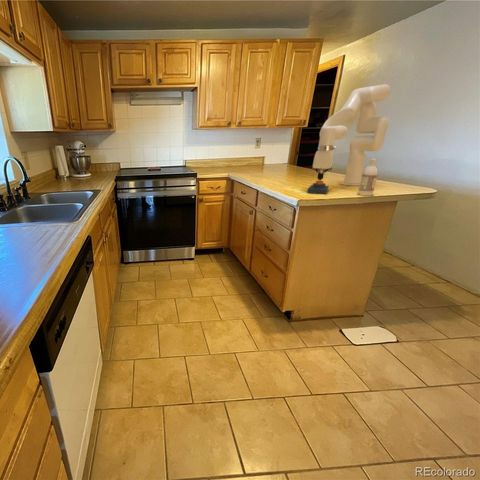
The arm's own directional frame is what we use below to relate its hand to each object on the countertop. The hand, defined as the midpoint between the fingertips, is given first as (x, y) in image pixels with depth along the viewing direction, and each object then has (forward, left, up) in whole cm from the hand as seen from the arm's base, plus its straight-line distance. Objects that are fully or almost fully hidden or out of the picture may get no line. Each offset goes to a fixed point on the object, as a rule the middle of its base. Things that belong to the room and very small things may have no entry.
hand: (319, 179), depth 164 cm
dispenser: (0, 0, -7) cm, 7 cm away
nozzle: (0, 0, -3) cm, 3 cm away
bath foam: (-7, +23, -8) cm, 25 cm away
